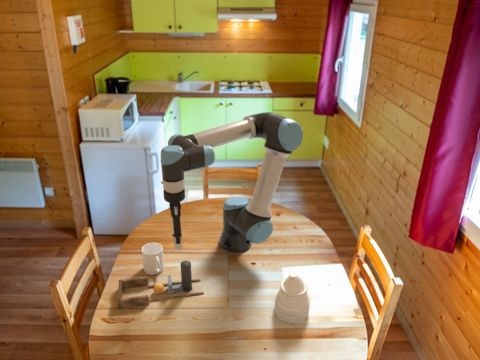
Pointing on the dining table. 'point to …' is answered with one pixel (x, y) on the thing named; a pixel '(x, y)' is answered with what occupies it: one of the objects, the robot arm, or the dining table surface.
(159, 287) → the ball
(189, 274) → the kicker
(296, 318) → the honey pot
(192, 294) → the lane
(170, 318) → the dining table surface
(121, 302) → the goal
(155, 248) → the mug
